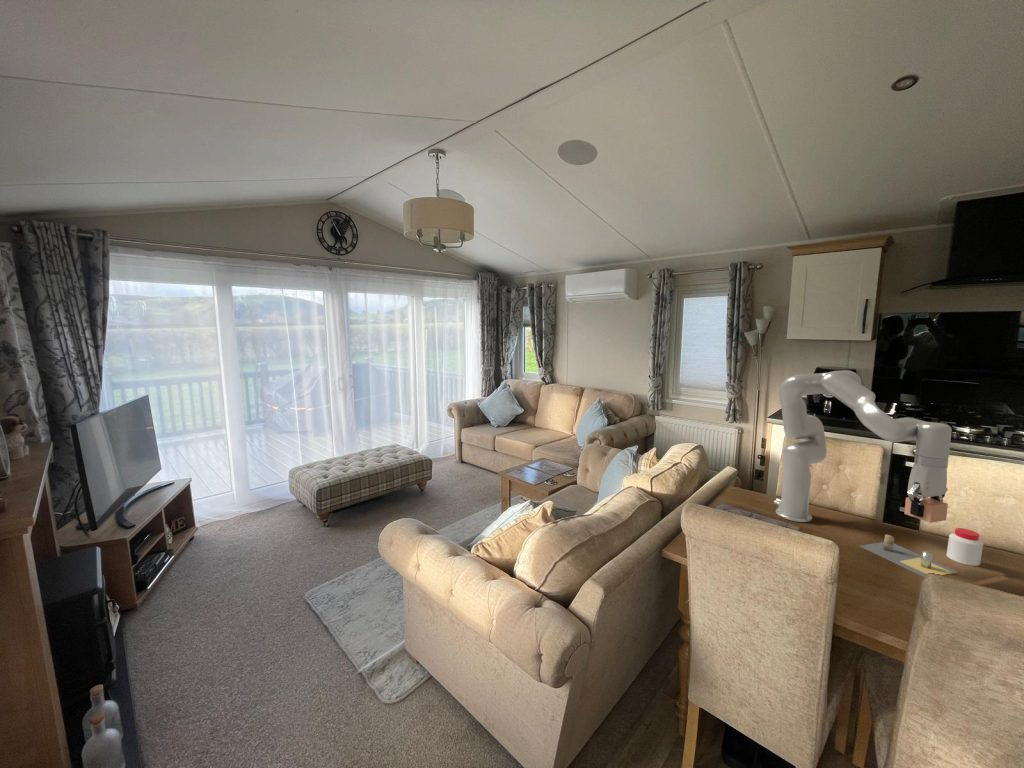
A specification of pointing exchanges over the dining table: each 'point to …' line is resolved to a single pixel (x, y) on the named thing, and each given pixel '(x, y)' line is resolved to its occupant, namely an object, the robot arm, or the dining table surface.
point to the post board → (908, 558)
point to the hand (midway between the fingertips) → (925, 513)
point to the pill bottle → (965, 547)
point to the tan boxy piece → (929, 510)
